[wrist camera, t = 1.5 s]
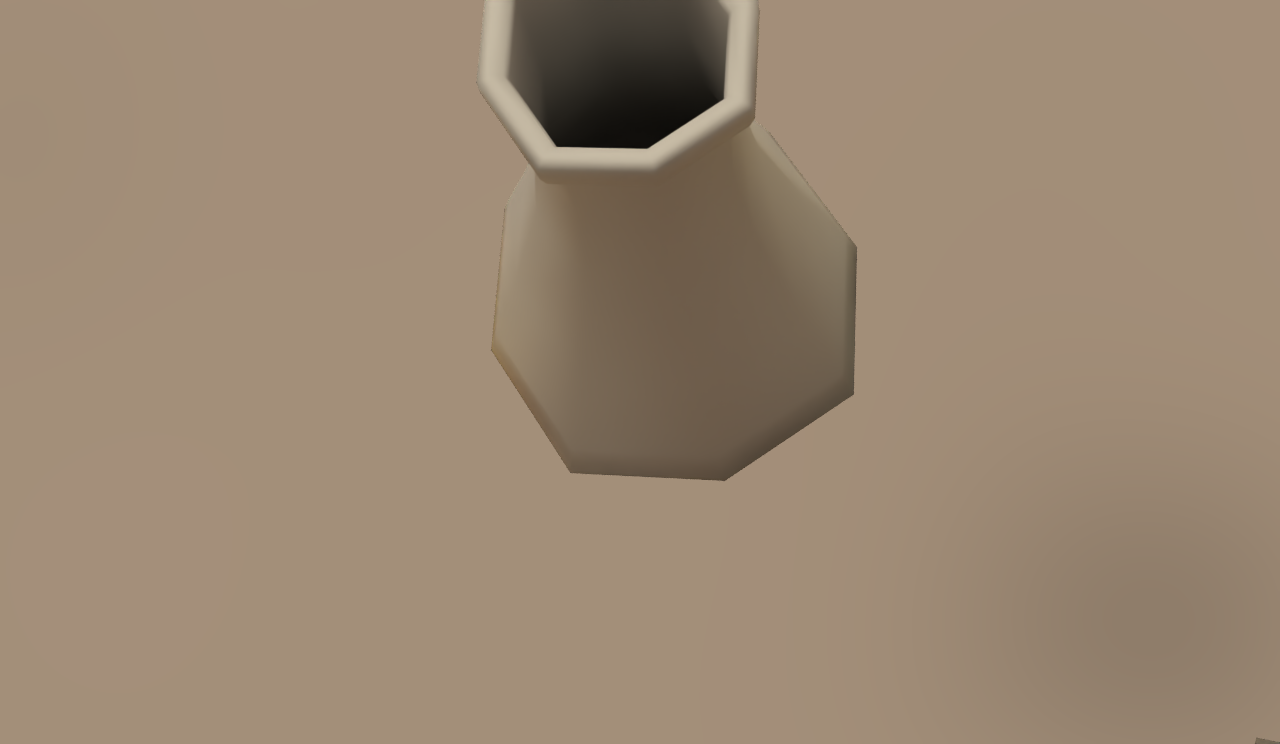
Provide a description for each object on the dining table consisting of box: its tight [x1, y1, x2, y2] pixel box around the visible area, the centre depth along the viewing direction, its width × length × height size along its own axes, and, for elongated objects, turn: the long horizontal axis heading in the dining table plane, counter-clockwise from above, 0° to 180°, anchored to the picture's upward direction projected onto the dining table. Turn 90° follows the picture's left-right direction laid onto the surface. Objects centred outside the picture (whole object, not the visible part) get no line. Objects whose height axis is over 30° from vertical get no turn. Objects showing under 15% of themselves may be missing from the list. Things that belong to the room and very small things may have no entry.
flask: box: [476, 0, 857, 481], centre depth 17 cm, size 7×7×10 cm
